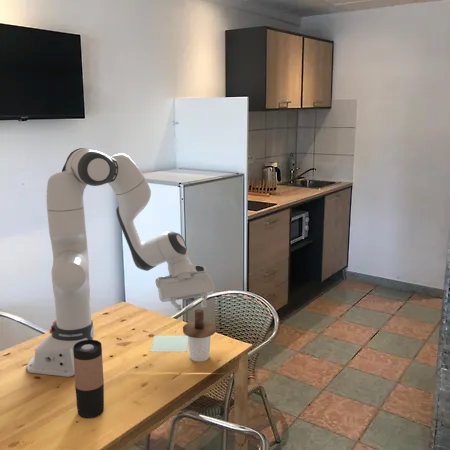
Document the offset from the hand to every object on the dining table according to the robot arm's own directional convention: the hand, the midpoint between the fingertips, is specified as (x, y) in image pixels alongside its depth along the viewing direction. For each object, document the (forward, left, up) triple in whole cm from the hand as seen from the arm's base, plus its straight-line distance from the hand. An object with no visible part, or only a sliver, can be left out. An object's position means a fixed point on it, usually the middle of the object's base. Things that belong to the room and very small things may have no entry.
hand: (192, 308), depth 174 cm
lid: (+3, -6, -6) cm, 9 cm away
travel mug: (-26, -38, -16) cm, 49 cm away
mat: (-8, +4, -16) cm, 18 cm away
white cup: (+3, -6, -16) cm, 17 cm away
